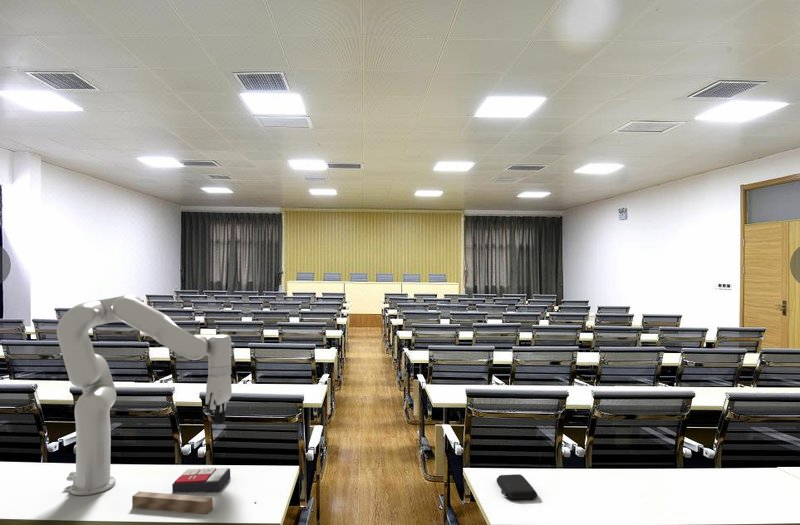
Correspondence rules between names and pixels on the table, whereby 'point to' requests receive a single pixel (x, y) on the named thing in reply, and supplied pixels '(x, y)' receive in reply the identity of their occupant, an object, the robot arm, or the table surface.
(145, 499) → the bar
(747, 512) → the table surface
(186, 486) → the calculator
